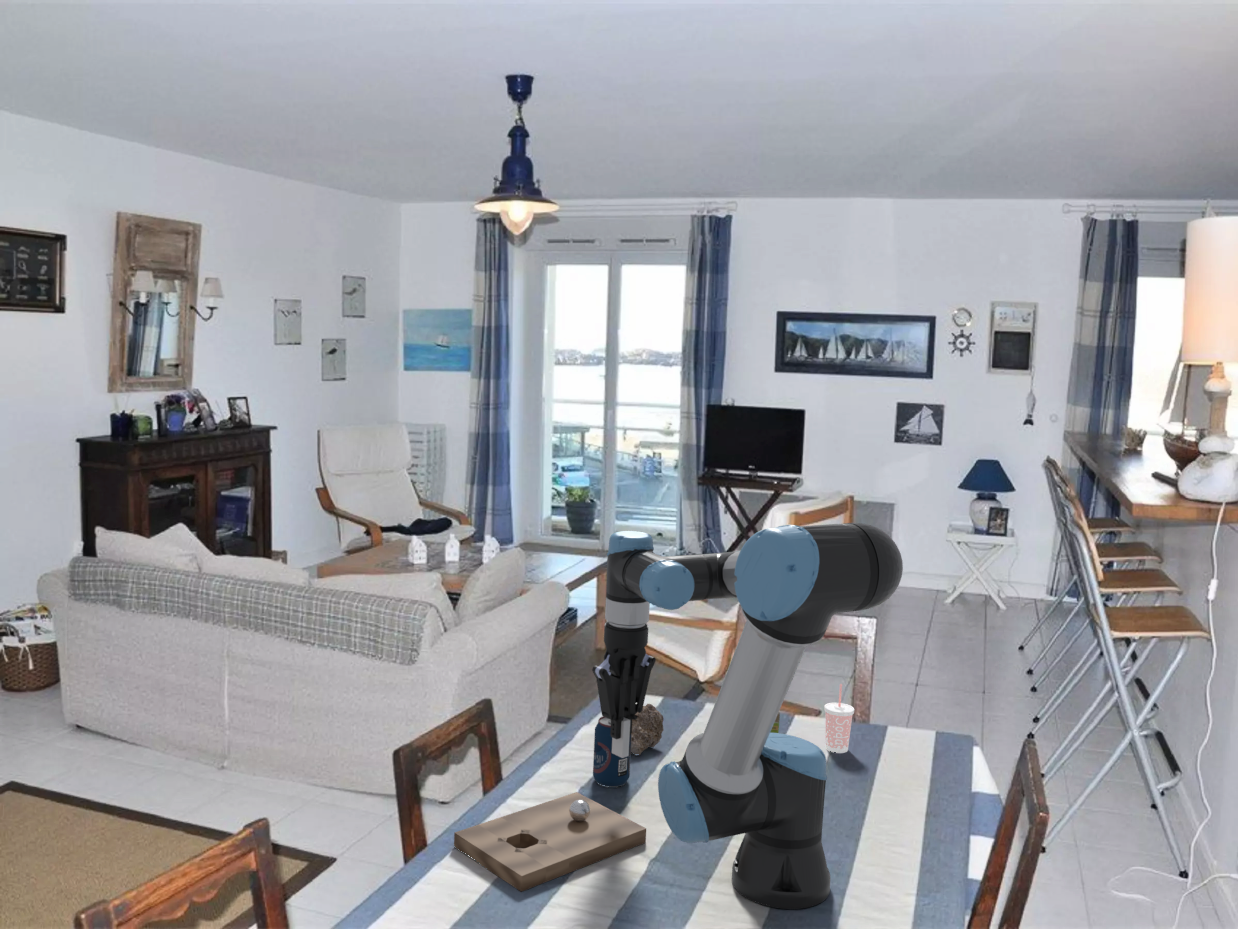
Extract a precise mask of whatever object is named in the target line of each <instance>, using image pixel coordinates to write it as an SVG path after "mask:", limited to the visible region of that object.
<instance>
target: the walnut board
mask: <svg viewBox="0 0 1238 929" xmlns="http://www.w3.org/2000/svg"><path fill="white" fill-rule="evenodd" d="M576 800H584V801H585V802H587V803H588V805H589V807H590V814H589V816H588V818H587V819H586V820H584V821H581V822H578V821H575V820H574V819H572V817H571V816H570V813H569V809H570V806H571V804H572V803H573V802H574V801H576ZM453 833H454V835H453V847H454V846H455V847H456V848H457V849H456V848H455V847H454V848H455V849H456V850H458V849H459V850H460V851H459V850H458V851H459V852H461V851H462V852H464V853H466V854H467V855H469V856H470V857H472V858H473V859H475V860H476V861H477V862H479V863H480V864H481V865H480V864H479V863H478V864H479V865H480V866H481V867H483V866H484V867H483V868H485V869H486V868H487V869H486V870H488V871H489V872H491V873H492V874H494V875H495V876H497V877H498V878H499V879H501V880H503V881H504V882H506V883H507V884H509V885H510V886H512V887H513V888H515V889H516V890H518V891H519V892H521V893H522V892H524V891H527V890H530V889H532V888H534V887H537V886H541V884H542V885H543V884H545V883H547V882H550V881H552V880H554V879H557V878H559V877H562V876H565V875H567V874H570V873H573V872H575V871H577V870H581V869H582V868H585V867H588V866H590V865H593V864H595V863H598V862H600V861H603V860H605V859H608V858H611V857H612V856H616V855H619V854H621V853H623V852H626V851H629V850H631V849H633V848H636V847H638V846H640V845H643V844H645V843H646V840H647V828H646V827H644V826H642V825H640V824H638V822H636V821H633V820H631V819H629V818H627V817H625V816H623V815H622V814H619V813H618V812H617V811H614V810H613V809H610V808H608V807H606V806H604V805H602V804H600V803H599V802H597V801H594V800H593V799H591V798H589V797H587V796H584V795H583V794H581V793H580V792H578V791H575V792H573V793H570V794H566V795H563V796H560V797H558V798H554V799H552V800H549V801H546V802H543V803H540V804H535V805H533V806H530V807H527V808H524V809H521V810H518V811H515V812H513V813H509V814H507V815H503V816H500V817H498V818H494V819H492V820H491V819H490V820H488V821H484V822H482V823H479V824H477V825H473V826H470V827H466V828H464V829H461V830H458V831H455V832H453ZM462 852H461V853H462ZM464 853H463V854H464ZM467 855H466V856H467ZM470 857H469V858H470ZM473 859H472V860H473ZM476 861H475V862H476ZM477 862H476V863H477Z"/></svg>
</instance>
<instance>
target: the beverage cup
mask: <svg viewBox="0 0 1238 929" xmlns="http://www.w3.org/2000/svg"><path fill="white" fill-rule="evenodd" d="M842 689H843V683H839V692H838V702H828V703H826V704H824V706H823V707H824V712H825V732H824V733H825V742H824V743H825V746H824V747H826V748H825V750H827V749H828V750H827V751H828V752H830V751H831V752H830V753H834V752H836V753H835V754H844V753H847V752H848V751H849V745H850V736H851V729H852V721H853V715H854V714H855V708H854V707H853V706H852V705H851V704H847V703H843V702H842V692H843V690H842Z"/></svg>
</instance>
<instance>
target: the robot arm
mask: <svg viewBox="0 0 1238 929" xmlns="http://www.w3.org/2000/svg"><path fill="white" fill-rule="evenodd" d="M740 549H741V550H737V551H736V550H735V551H728V552H715V553H714V552H713V553H704V554H703V553H701V554H684V555H667V556H664V555H663V556H662V555H659V554H657V553H655V552H654V550H655V549H654V538H653V537H652V535H650V534H649V533H647V532H642V531H638V530H637V531H635V530H621V531H616V532H613V533H612V534H611V535H610V536H609V541H608V550H607V553H606V557H607V558H606V559H607V561H606V562H607V564H606V589H605V590H606V594H605V608H604V609H605V612H604V613H605V615H604V619H605V620H606V622H605V623H604V626H603V628H604V631H603V634H604V635H603V636H604V637H603V642H604V645H605V648H606V649H605V652H604V655H603V661H602V662H601V663H600V664H599V665H594V666H593V667H592V669H591V670H592V673H593V674H594V676H595V679H596V684H597V692H598V697H599V699H598V700H599V704H600V706H599V707H600V711H601V717H603V716H604V717H606V718H608V719H610V720H611V731H610V735H611V737H612V753H613V754H615V755H617V756H619V757H621V758H624V757H627V756H629V736H630V735H631V733H632V719H633V720H636V719H637V717H638V716H637V715H635V714H636V713H637V712H638V713H640V712H641V711H642V709H643V706H644V703H645V699H646V695H647V690H648V685H649V681H650V677H651V672H652V669H653V668H654V665H655V664H656V660H657V659H656V658H655V657H654V656H652V655H648V653H647V650H646V648H645V647H646V646H647V645H648V644H649V625H648V622H650V609H651V605H652V606H656V607H657V608H660V609H663V610H669V611H670V610H671V611H675V610H679V609H680V608H682V607H683V606H685V605H686V604H688V602H696V601H706V600H717V599H718V600H721V599H730V598H731V599H735V598H737V601H738V603H739V605H740V609H741V613H742V614H743V617H744V618H745V620H746V621H745V624H744V627H743V629H742V633H741V635H740V637H739V639H738V643H737V645H736V648H735V650H734V653H733V655H732V658H731V661H730V663H729V666H728V669H727V671H726V674H725V676H724V679H723V682H722V684H721V687H720V690H719V692H718V695H717V698H716V701H715V702H714V705H713V708H712V711H711V713H710V716H709V718H708V721H707V724H706V726H705V729H704V732H703V733H700V734H697V735H696V736H694V737H693V738H692V739H691V740H690V741H689V742H688V744H687V747H686V750H685V752H684V754H683V757H682V759H681V760H680V761H675V760H674V761H670V762H669V763H666V764H665V765H663V766H662V767H661V768H660V770H659V774H658V780H657V791H658V797H659V798H658V799H659V803H660V808H661V812H662V813H663V816H664V819H665V822H666V823H667V826H668V827H669V829H670V831H671V832H672V834H674V836H675V837H676V839H678V840H680V842H683V843H687V844H696V843H708V842H711V841H714V840H715V841H716V840H719V839H720V840H721V839H724V838H729V837H735V836H738V835H743V834H744V836H743V838H742V841H741V844H740V846H739V848H738V851H737V853H736V855H735V858H734V860H733V863H732V870H731V883H732V885H733V887H734V889H735V890H736V891H737V892H738V893H739V894H740V895H742V896H743V897H745V898H746V899H748V900H749V901H752V902H755V903H757V904H760V905H762V906H765V907H771V908H776V909H782V910H783V909H784V910H798V909H806V908H812V907H815V906H817V905H819V904H821V903H823V902H824V901H826V899H828V896H829V895H830V892H831V874H830V870H829V868H828V864H827V859H826V856H825V854H826V853H825V850H824V847H823V840H822V836H823V824H824V823H823V821H824V809H825V808H824V807H825V796H826V784H827V783H826V782H827V780H828V775H827V757H826V754H825V752H824V751H823V750H822V749H821V747H819V745H816V744H815V743H813V742H811V741H809V740H807V739H804V738H802V737H797V736H794V735H790V734H786V733H770V731H771V729H772V727H773V724H774V722H775V720H776V717H777V715H778V713H780V711H781V708H782V705H783V702H784V701H785V698H786V695H787V693H788V690H789V688H790V686H791V684H792V681H793V680H794V677H795V675H796V672H797V670H798V668H799V665H800V663H801V661H802V658H803V655H804V653H805V650H806V649H807V646H812V645H815V644H817V643H818V642H819V641H822V638H824V636H825V634H826V632H827V630H828V627H829V624H830V623H831V620H832V617H833V616H834V615H836V614H841V613H842V614H843V613H849V612H852V613H853V612H860V611H864V610H871V609H872V608H873V609H874V608H875V607H878V606H879V605H882V604H883V603H885V602H886V601H887V600H888V599H890V597H892V596H893V595H894V593H895V592H896V591H897V589H898V587H899V585H900V583H901V580H902V576H903V572H904V571H903V570H904V565H903V564H904V562H903V558H902V554H901V550H900V549H899V547H898V544H897V543H896V542H895V541H894V540H893V538H891V536H890V535H889V534H887V533H886V532H885V531H884V530H882V529H880V528H878V527H876V526H873V525H870V524H868V523H861V522H846V523H845V522H844V523H828V524H817V525H815V524H813V525H796V524H783V525H779V526H776V527H769V528H764V529H761V530H759V531H757V532H755V533H754V534H752V535H751V536H750V537H749V538H748V539H747V540H746V541H745V543H744V544H743V546H742V547H741V548H740Z"/></svg>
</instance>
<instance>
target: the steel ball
mask: <svg viewBox="0 0 1238 929" xmlns="http://www.w3.org/2000/svg"><path fill="white" fill-rule="evenodd" d="M569 813H570V816H571V817H572V819H574V820H575V821H578V822H581V821H584V820H586V819H587V818H588V816H589V814H590V807H589V805H588V803H587V802H585V801H584V800H576V801H574V802H573V803H572V804H571V806H570V809H569Z"/></svg>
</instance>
